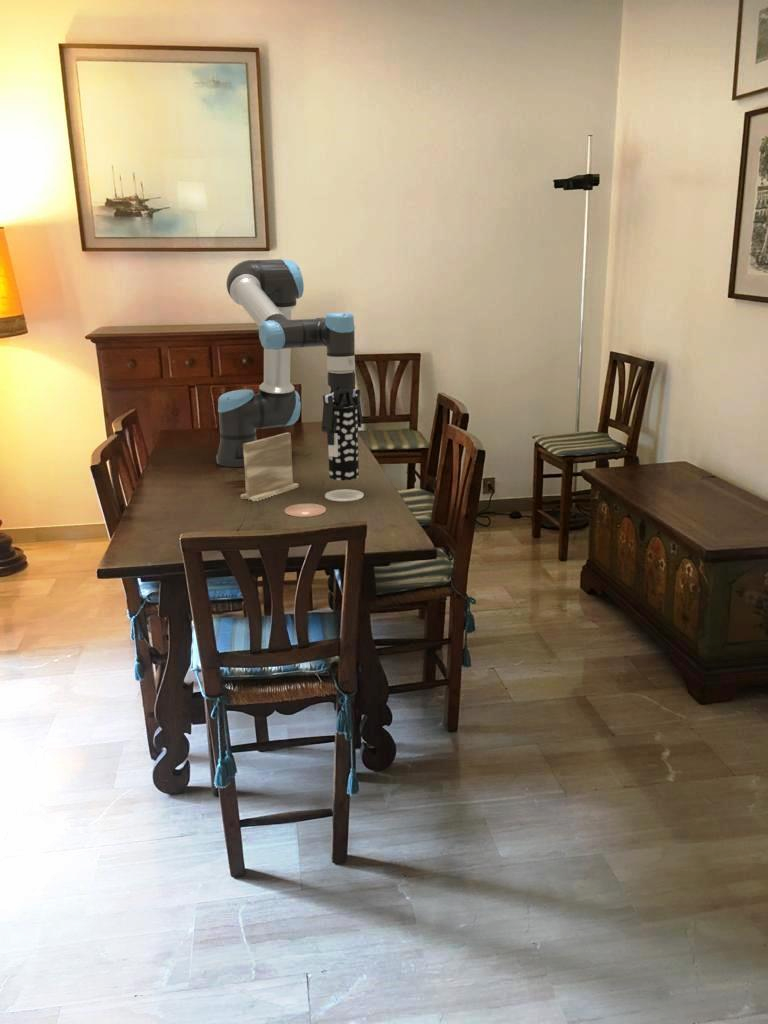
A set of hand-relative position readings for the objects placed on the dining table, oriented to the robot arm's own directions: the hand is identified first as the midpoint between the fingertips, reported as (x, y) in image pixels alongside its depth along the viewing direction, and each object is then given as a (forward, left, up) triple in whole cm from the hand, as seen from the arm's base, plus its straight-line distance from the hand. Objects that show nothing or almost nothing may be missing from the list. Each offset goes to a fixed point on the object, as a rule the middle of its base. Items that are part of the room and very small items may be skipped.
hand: (343, 453), depth 227 cm
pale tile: (0, 0, -13) cm, 13 cm away
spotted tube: (0, 0, -7) cm, 7 cm away
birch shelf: (-20, -9, -13) cm, 25 cm away
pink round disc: (0, -17, -13) cm, 21 cm away
